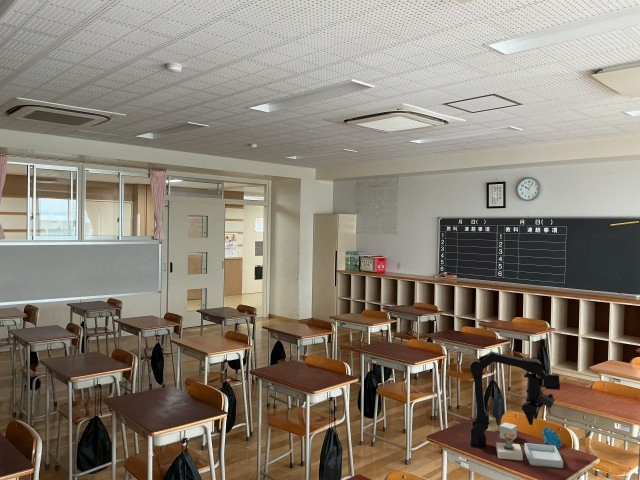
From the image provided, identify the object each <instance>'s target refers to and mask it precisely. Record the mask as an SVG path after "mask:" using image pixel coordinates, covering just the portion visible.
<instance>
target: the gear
mask: <svg viewBox="0 0 640 480" xmlns="http://www.w3.org/2000/svg"><path fill="white" fill-rule="evenodd" d="M556 434H557V432H556V430H553V429H552V428H551V427H548V426H546V427H544V429H542V435H543V436H544V437H543V438H544V442H543V443H544V445H552V446H556V448H557V449H560V447H562V440H561V437H562V436H561V434H558V435H556Z"/></svg>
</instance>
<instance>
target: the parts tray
mask: <svg viewBox="0 0 640 480" xmlns="http://www.w3.org/2000/svg"><path fill="white" fill-rule="evenodd" d="M552 445H553V444H550V445H549V444H540V443H539V444H537V443H526V442H524V445H523V448H524V449H523V450H524V452H525V455H526V457H527V460H528V463H529V465H530V466H536V467H546V468H557V469H564V460H563V458H562V457H561V454H560V453H559V450H558V448H556V445H555V446H552Z"/></svg>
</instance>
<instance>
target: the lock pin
mask: <svg viewBox="0 0 640 480" xmlns="http://www.w3.org/2000/svg"><path fill="white" fill-rule="evenodd" d="M504 437H505V438H506V439H505V443H506V447H505V450H513V444H514V442H513V441H514V440H513V438H514V434H512V433H504Z"/></svg>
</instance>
